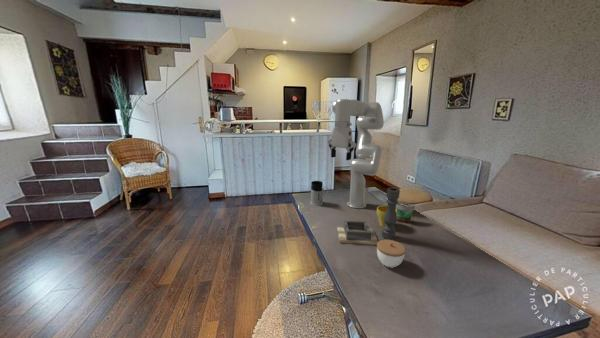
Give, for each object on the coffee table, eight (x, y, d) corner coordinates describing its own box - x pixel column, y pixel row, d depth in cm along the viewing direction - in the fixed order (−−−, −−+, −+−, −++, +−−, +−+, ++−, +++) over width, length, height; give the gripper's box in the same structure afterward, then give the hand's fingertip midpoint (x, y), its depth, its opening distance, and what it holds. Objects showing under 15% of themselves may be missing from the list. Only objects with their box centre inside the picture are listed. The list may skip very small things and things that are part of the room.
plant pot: (374, 220, 131) (375, 204, 129) (393, 222, 129) (395, 206, 127) (376, 229, 121) (378, 212, 119) (397, 231, 119) (399, 213, 117)
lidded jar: (404, 274, 87) (407, 253, 85) (375, 268, 91) (377, 247, 88) (402, 258, 97) (404, 238, 95) (376, 253, 100) (377, 233, 98)
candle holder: (394, 234, 116) (399, 188, 110) (395, 241, 110) (401, 192, 104) (381, 232, 118) (386, 186, 112) (381, 238, 112) (386, 190, 106)
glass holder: (316, 199, 162) (316, 179, 158) (331, 205, 152) (332, 184, 148) (307, 203, 156) (307, 182, 152) (322, 209, 146) (323, 187, 142)
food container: (390, 221, 130) (391, 205, 127) (390, 217, 135) (392, 201, 133) (414, 225, 125) (416, 208, 123) (413, 220, 131) (415, 204, 128)
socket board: (337, 229, 121) (337, 219, 119) (371, 230, 120) (372, 221, 118) (339, 242, 108) (340, 232, 107) (378, 244, 107) (379, 234, 106)
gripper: (361, 125, 110) (359, 160, 114) (333, 124, 122) (332, 155, 126) (352, 126, 105) (350, 162, 109) (324, 124, 117) (323, 157, 121)
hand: (340, 158), depth 118 cm, fingers open, 9 cm apart
